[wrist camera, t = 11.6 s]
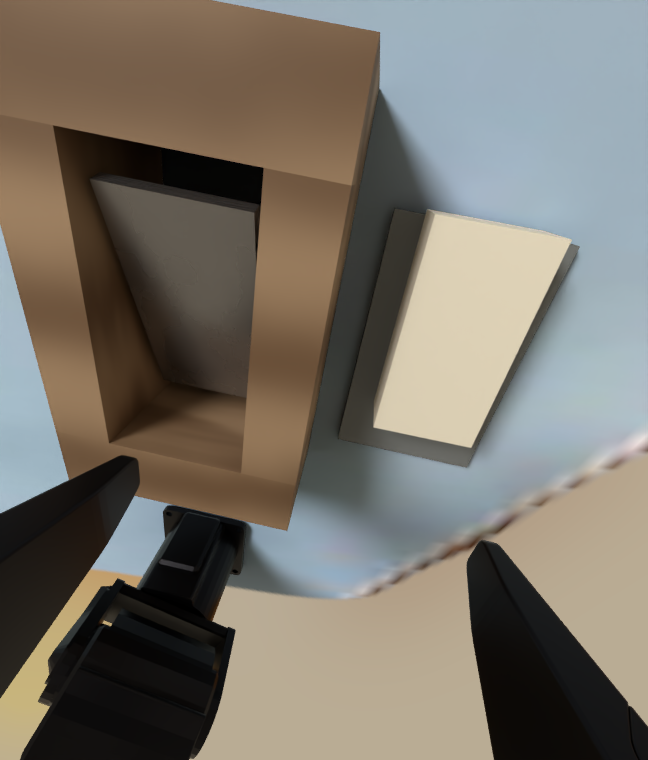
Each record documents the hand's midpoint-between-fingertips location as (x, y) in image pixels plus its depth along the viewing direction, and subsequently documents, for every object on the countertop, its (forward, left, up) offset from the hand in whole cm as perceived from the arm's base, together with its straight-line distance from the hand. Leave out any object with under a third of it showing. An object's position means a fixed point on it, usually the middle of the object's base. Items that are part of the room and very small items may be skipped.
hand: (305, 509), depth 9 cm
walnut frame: (+1, +6, -12) cm, 13 cm away
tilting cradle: (+1, +6, -8) cm, 11 cm away
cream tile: (+2, -5, -11) cm, 12 cm away
